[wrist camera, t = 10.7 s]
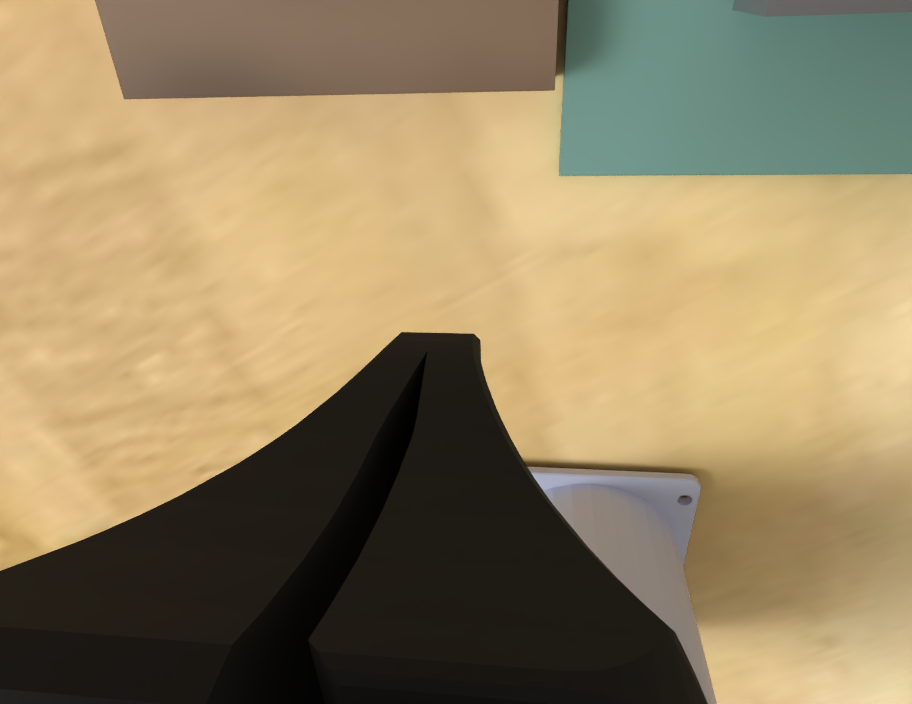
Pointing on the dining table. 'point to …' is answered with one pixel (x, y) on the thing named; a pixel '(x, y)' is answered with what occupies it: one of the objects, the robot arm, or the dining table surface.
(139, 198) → the dining table surface
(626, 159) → the teal mat
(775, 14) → the slate tile
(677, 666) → the robot arm
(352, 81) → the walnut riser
